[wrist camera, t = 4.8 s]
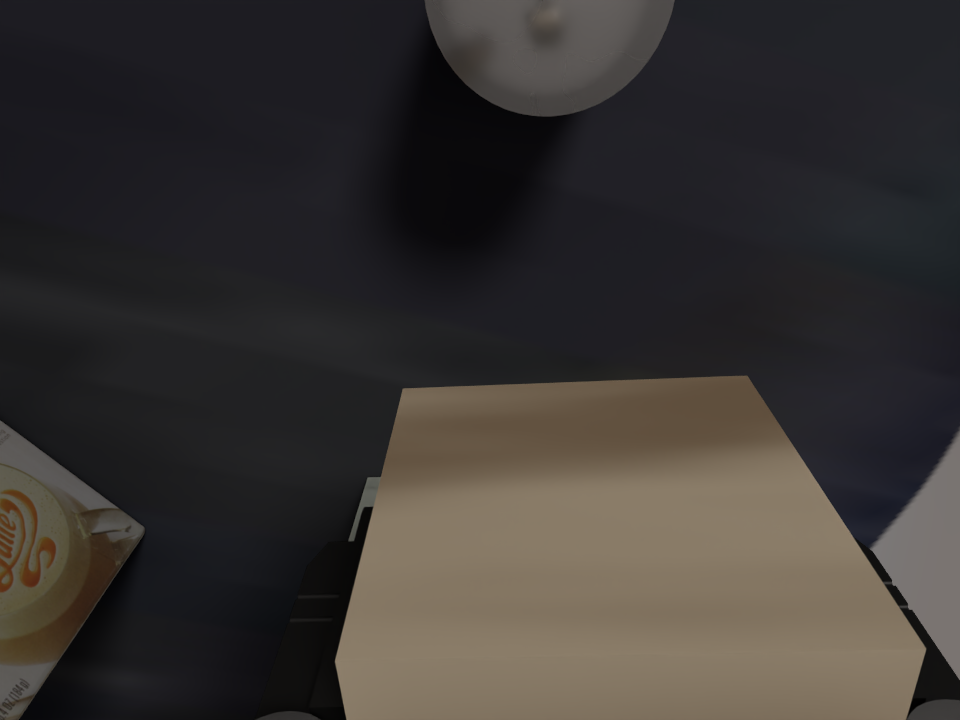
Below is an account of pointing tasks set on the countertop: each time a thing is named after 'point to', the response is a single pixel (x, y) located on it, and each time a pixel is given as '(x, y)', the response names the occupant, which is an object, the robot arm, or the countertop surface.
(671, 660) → the beech cube
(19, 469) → the coffee box
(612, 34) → the grey metal cylinder
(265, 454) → the countertop surface
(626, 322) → the countertop surface
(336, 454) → the countertop surface
